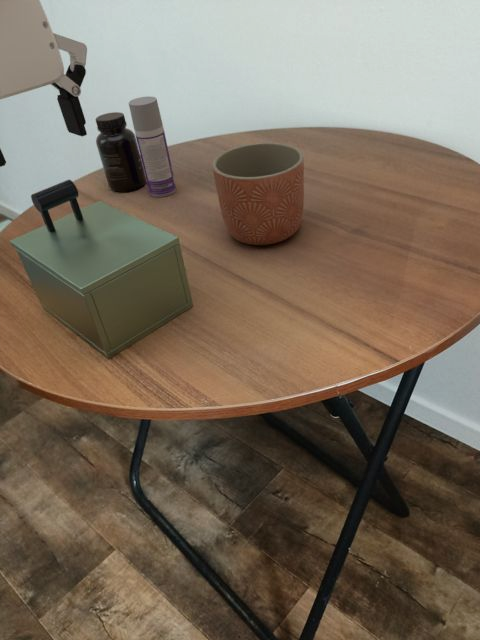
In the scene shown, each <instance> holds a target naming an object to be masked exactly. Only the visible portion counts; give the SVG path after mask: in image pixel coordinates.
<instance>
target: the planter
mask: <svg viewBox="0 0 480 640" xmlns="http://www.w3.org/2000/svg"><path fill="white" fill-rule="evenodd" d="M304 162H305V155H304V153H303V152H302V151H301V149H300V148H298V147H296V146H294V145H291V144H287V143H282V142H271V141H269V142H267V141H266V142H262V141H261V142H253V143H247V144H242V145H238V146H235V147H232V148H230V149H227V150H225V151H223V152H221V153H220V154H218V155H217V156H216V157H215V158H214V160H213V161H212V165H211V167H212V172H213V177H214V182H215V188H216V194H217V198H218V204H219V208H220V213H221V216H222V219H223V223H224V226H225V228H226V230H227V232H228V233H229V235H230V236H231V237H232V238H234V239H235V240H237V241H238V242H240V243H242V244H246V245H251V246H268V245H274V244H278V243H280V242H283V241H285V240H288V239H289V238H290V237H292V236H293V235H294V234H295V233H296V232H297V231H298V230H299V228H300V226H301V224H302V221H303V216H304V202H305V201H304V199H305V177H304V176H305V167H304V165H305V164H304Z"/></svg>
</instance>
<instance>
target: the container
mask: <svg viewBox="0 0 480 640" xmlns="http://www.w3.org/2000/svg"><path fill="white" fill-rule="evenodd" d="M128 107H129V112H130V116H131V121H132V125H133V129H134V134H135V137H136V140H137V145H138V149H139V153H140V157H141V161H142V165H143V169H144V173H145V177H146V183H147V187H148V192H149V194H150V196H152V197H154V198H165V197H168V196H171V195H173V194H174V193H176V191H177V186H176V181H175V177H174V171H173V166H172V161H171V157H170V152H169V147H168V143H167V142H168V141H167V138H166V133H165V129H164V124H163V119H162V116H161V111H160V107H159V102H158V99H157V97H155V96H141V97H140V96H139V97H136V98H132V99H131V100H129V101H128Z"/></svg>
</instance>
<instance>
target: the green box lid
mask: <svg viewBox="0 0 480 640" xmlns="http://www.w3.org/2000/svg"><path fill="white" fill-rule="evenodd" d="M79 195H80V194H79V190H78V188H77V186H76V185H75V183H74V182H73V181H72V180H71V179H66V180H64V181H61V182H59V183H57V184H54V185H51V186H49V187H46V188H44V189H42V190H39V191H37V192H34V193H33V194H31V195H30V199H31V202H32V204H33V206H34V208H35V209H36V210H37V211H38V212H39V213H40V215H41V217H42V219H43V222H44V225H41V226H40V227H38V228H35V229H33V230H30V231H28V232H26V233H24V234H22V235H20V236H17V237H14V238H13V239H10V240H9V242H10V245H11V247H12V248H14V249H15V250H16V249H17V250H18V251H20V252H21V253H23V254H24V255H26V256H27V257H29V258H30V259H32V260H33V261H34V262H36V263H37V264H39V265H40V266H42V267H43V268H45V269H46V270H48V271H49V272H51V273H52V274H53V275H55V276H56V277H58V278H59V279H61V280H62V281H64V282H65V283H67V284H68V285H70V286H71V287H72V288H74V289H75V290H77V291H78V292H80V293H81V294H83V295H84V294H86V293H88V292H90V291H92V290H94V289H95V288H97V287H99V286H101V285H103V284H105V283H107V282H108V281H110V280H112V279H114V278H116V277H118V276H120V275H121V274H123V273H125V272H127V271H129V270H131V269H132V268H134V267H136V266H138V265H140V264H142V263H144V262H145V261H147V260H149V259H151V258H153V257H155V256H157V255H158V254H160V253H162V252H164V251H166V250H168V249H170V248H171V247H173V246H175V245H177V244H180V239H179V237H178V236H176V235H174V234H172V233H170V232H168V231H166V230H164V229H161V228H159V227H157V226H155V225H154V224H151V223H149V222H147V221H144V220H142V219H140V218H138V217H136V216H134V215H131V214H130V213H127V212H125V211H123V210H121V209H120V208H119V209H118V208H117V207H115V206H112V205H110V204H108V203H106V202H103V201H101V200H98V201H96V202H93V203H91V204H90V205H87V206H84V207H82V208H81V207H80V204H79V202H78V198H79ZM68 202H69V204H70V207H71V209H72V213H69V214H67V215H64V216H62V217H60V218H58V219H55V220H52V217H51V214H50V212H49V211H50V210H52V209H55V208H56V207H59V206H61V205H63V204H66V203H68Z"/></svg>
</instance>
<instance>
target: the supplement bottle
mask: <svg viewBox="0 0 480 640" xmlns="http://www.w3.org/2000/svg"><path fill="white" fill-rule="evenodd" d="M95 123H96V129H97V131H98V132H100V133H99V134H98V135H97V136H96V138H95V143H96V148H97V151H98V154H99V158H100V161H101V165H102V168H103V171H104V172H103V173H104V175H105V178H106V181H107V185H108V187H109V189H110V190H112V191H114V192H118V193H124V192H125V193H127V192H132V191H134V190H138V189H139V188H141V187H143V186H144V185H145V184H146V182H147V179H146V175H145V171H144V167H143V163H142V159H141V155H140V151H139V147H138V143H137V139H136V135H135V132H134V131H132V129H130V128H127V126H128V123H127V121H126V117H125V114H124V113H123V112H117V111H113V112H107V113H103V114H101V115H98V116H97V117H96V118H95Z"/></svg>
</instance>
